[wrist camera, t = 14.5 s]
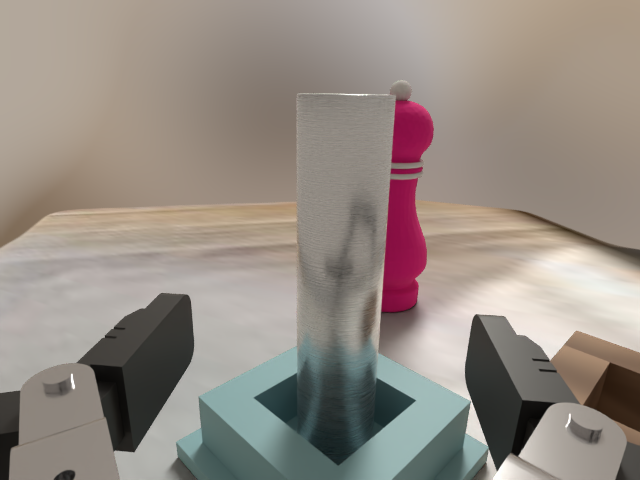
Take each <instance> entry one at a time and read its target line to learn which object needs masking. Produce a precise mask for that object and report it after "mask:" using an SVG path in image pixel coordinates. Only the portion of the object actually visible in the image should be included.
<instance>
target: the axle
mask: <svg viewBox="0 0 640 480" xmlns="http://www.w3.org/2000/svg"><path fill="white" fill-rule="evenodd" d="M395 100H396V95H370V94H368V95H367V94H297V433H298V434H299V435H300V436H302V437H303V438H304V439H305V440H307V441H308V442H309V443H310V444H312V445H313V446H314V447H315V448H317V449H318V450H319V451H320V452H322V453H323V454H324V455H325V456H327V457H328V458H329V459H330V460H332V461H333V462H334V463H335V464H336V465H338V466H339V465H340V464H341V463H343V462H344V461H345V460H346V459H347V458H349V457H350V456H351V455H352V454H353V453H354V452H356V451H357V450H358V449H359V448H360V447H362V446H363V445H364V444H365V443H366V442H368V441H369V440H370V439H371V438H372V436H373V422H374V407H375V393H376V378H377V363H378V349H379V334H380V319H381V305H382V290H383V276H384V261H385V246H386V232H387V217H388V202H389V188H390V173H391V158H392V144H393V129H394V115H395Z"/></svg>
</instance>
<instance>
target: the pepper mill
mask: <svg viewBox="0 0 640 480" xmlns="http://www.w3.org/2000/svg"><path fill="white" fill-rule="evenodd" d="M411 92H412V89H411V86H410V84H409V83H408V82H406V81H404V80H399V81H396V82H395V83H394V84H393V85H392V87H391V89H390V95H396V100H395V115H394V129H393V144H392V158H391V173H390V188H389V202H388V217H387V232H386V246H385V261H384V276H383V290H382V305H381V312H399V311H404V310H407V309H410V308H411V307H413V306H414V305H415V304H416V302H417V296H418V287H419V285H418V282H417V281H416V280H415V278H416V277H417V276H419V275H420V274H421V272H422V271H423V270H424V269H425V266H426V262H427V249H426V243H425V239H424V236H423V233H422V230H421V227H420V224H419V221H418V217H417V213H416V206H415V191H416V186H417V181H418V178H420V177H422V175H423V171H422V169H423V167H422V166H423V165H424V161H423V160H421V159H420V158H421V155H422V154H423V152H424V151H425V150H426V149H427V148H428V147H429V146H430V144H431V142H432V139H433V131H434V128H433V121H432V119H431V116H430V114H429V113H428V111H427V110H426V109H425V108H424V107H422V106H421V105H419V104H417V103H415V102H411V101H407V100H408V99H409V98H410V96H411Z"/></svg>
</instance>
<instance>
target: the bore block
mask: <svg viewBox="0 0 640 480" xmlns="http://www.w3.org/2000/svg"><path fill="white" fill-rule="evenodd" d="M550 362H551V363H552V364H553V365H554V367H555V368H556V370H557V373H559V374H560V375H561V377H562V378H563V380H564V381H565V383H566V384H567V385H568V387H569V388H570V390H571V391H572V393H573V394H574V395H575V397H576V398H577V400H578V401H579V403H580V404H581V405H584V406H587V407H589V408H592V409H594V410H597V411H599V412H601V413H602V414H604V415H606V416H607V417H609V418H610V419H612V420H613V421H614V422H615V423H616V424H617V425H618V426H619V427H620V428H621V429H622V431H623V432H624V434H625V436H626V439H627V441H628V442H630V443H633V444H636V445H639V446H640V353H639V352H636V351H633V350H630V349H627V348H625V347H622V346H619V345H616V344H613V343H610V342H608V341H605V340H602V339H599V338H596V337H593V336H590V335H588V334H585V333H582V332H579V331H576V332H575V333H574V334H573V335H572V336H571V337H570V339H569V340H568V341H567V342H566V343H565V344H564V346H563V347H562V348H561V349H560V350H559V351H558V352H557V354H556V355H555V356H554V357H553V358H552V359H551V361H550Z"/></svg>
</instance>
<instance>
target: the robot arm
mask: <svg viewBox="0 0 640 480" xmlns="http://www.w3.org/2000/svg"><path fill="white" fill-rule="evenodd" d="M193 351H194V335H193V322H192V309H191V300H190V297H189V296H188V295H185V294H169V293H161V294H159V295H158V296H157V297H156V298H155V299H154V300H153V301H152V302H151V303H150V304H149V305H148V306H147V307H146V308H145V309H139V310H137V311H135V312H133V313H131V314H129V315H127V316H125V317H124V318H123V319H122V320H121V321H120V322H119V323H118V324H117V325H116V326H115V327H114V329H111V330H110V331H109V332H108V333H107V334H106V335H105V338H102V339H101V340H100V341H99V342H98V343H97V344H96V345H95V346H94V347H93V348H92V349H90V350H89V351H88V352H87V353H86V354H85V355H84V356H83V357H82V358H81V359H80V360H79V361H78V362H77V363H69V364H62V365H58V366H54V367H51V368H48V369H46V370H43V371H41V372H39V373H37V374H36V375H34V376H33V377H31V378H30V379H29V380H28V381H27V382H25V384H24V385H23V386H22V388H21V391H14V392H6V393H0V480H120V478H119V474H118V469H117V465H116V460H115V456H114V451H115V450H116V451H127V452H135V450H136V449H137V447H138V445H139V444H140V442H141V441H142V439H143V438H144V436H145V434H146V433H147V431H148V430H149V428H150V426H151V425H152V423H153V422H154V420H155V418H156V417H157V415H158V414H159V412H160V410H161V409H162V407H163V406H164V404H165V403H166V401H167V399H168V398H169V396H170V395H171V393H172V391H173V390H174V388H175V387H176V385H177V383H178V382H179V380H180V379H181V377H182V375H183V374H184V372H185V371H186V369H187V368H188V366H189V364H190V362H191V359H192V356H193ZM465 379H466V385H467V388H468V391H469V394H470V397H471V400H472V402H473V405H474V408H475V411H476V414H477V416H478V419H479V422H480V425H481V428H482V431H483V433H484V436H485V439H486V442H487V445H488V447H489V450H490V453H491V456H492V459H493V461H494V464H495V467H496V470H497V473H496V475H495V476H494V478H493V479H492V480H640V446H639V445H636V444H633V443H630V442H628V441H627V439H626V436H625V434H624V432H623V431H622V429H621V428H620V427H619V426H618V425H617V424H616V423H615V422H614V421H613V420H612V419H610V418H609V417H607V416H606V415H604V414H602V413H601V412H599V411H597V410H594V409H592V408H589V407H587V406H584V405H581V404H580V403H579V401H578V400H577V398H576V397H575V395H574V394H573V393H572V391H571V390H570V388H569V387H568V385H567V384H566V383H565V381H564V380H563V378H562V377H561V375H560V374H559V373H557V370H556V368H555V367H554V365H553V364H552V363H551V362H550V361H549V358H548V357H547V355H546V354H545V353H544V351H543V350H542V348H541V347H540V346H539V345H537V344H536V343H534V342H533V341H532V340H530V339H529V338H528V337H526V336H522V335H516V333H515V331H514V330H513V328H512V327H511V325H510V324H509V322H508V320H507V319H506V318H505V317H504V316H493V315H478V314H476V315H475V316H474V318H473V321H472V326H471V332H470V338H469V345H468V351H467V357H466V364H465Z"/></svg>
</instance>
